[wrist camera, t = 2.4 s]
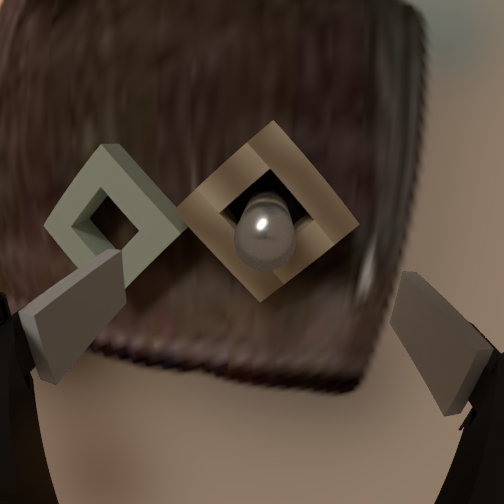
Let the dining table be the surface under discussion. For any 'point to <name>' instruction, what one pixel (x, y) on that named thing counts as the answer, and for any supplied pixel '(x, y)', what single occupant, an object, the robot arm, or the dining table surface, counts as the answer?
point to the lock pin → (265, 232)
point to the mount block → (299, 184)
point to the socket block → (130, 203)
